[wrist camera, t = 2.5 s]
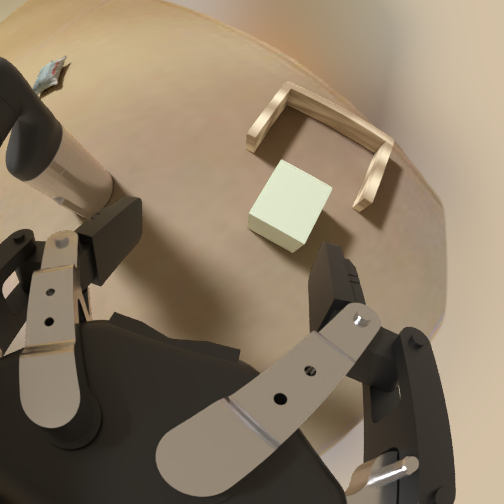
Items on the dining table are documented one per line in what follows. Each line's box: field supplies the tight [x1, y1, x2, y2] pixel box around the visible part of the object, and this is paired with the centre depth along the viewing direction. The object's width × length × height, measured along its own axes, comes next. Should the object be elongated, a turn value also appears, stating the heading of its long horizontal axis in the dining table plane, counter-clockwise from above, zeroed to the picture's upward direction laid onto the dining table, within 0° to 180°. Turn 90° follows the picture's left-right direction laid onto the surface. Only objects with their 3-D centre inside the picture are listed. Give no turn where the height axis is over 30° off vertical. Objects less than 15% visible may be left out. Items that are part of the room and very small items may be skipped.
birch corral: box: [246, 81, 394, 212], centre depth 42 cm, size 14×22×5 cm, turn 61°
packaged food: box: [33, 56, 66, 96], centre depth 44 cm, size 9×12×5 cm
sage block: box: [247, 160, 332, 253], centre depth 39 cm, size 9×8×8 cm
